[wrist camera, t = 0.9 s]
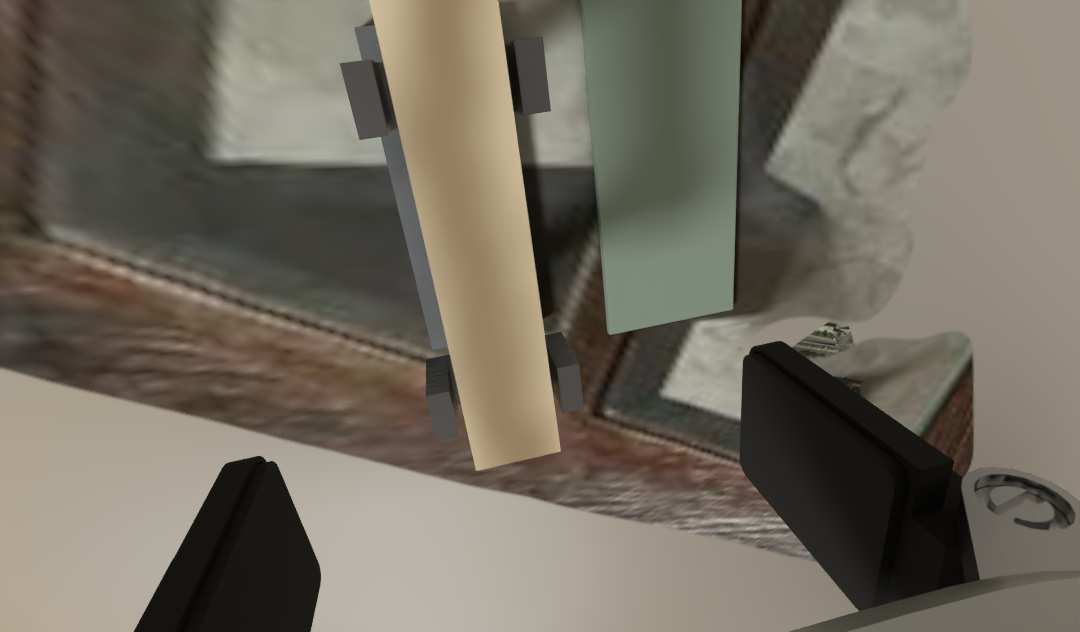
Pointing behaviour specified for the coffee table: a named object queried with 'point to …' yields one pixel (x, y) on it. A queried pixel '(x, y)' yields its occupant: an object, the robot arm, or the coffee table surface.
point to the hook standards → (380, 121)
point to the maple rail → (472, 216)
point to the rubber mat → (664, 154)
